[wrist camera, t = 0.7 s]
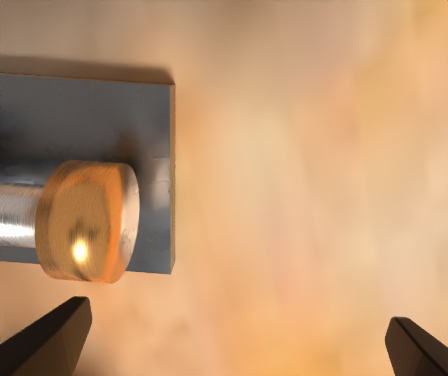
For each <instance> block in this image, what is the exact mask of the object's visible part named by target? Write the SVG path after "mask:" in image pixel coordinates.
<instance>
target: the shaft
mask: <svg viewBox="0 0 448 376" xmlns="http://www.w3.org/2000/svg"><path fill="white" fill-rule="evenodd" d="M138 222H139V190H138V183H137V179H136V176H135V173H134V171H133V169H132V168H131V166H129V165H128V164H124V163H110V162H97V161H83V160H69V161H66V162H64V163H62V164H61V165H60V166H59V167H58V168H57V169H56V170H55V171H54V172H53V173H52V175H51V176H50V178H49V179H48V181H47V183H46V185H39V184H26V183H13V182H0V245H4V246H17V247H30V248H36V253H37V257H38V260H39V263H40V265H41V267H42V269H43V270H44V272H45V273H46V274H47V275H48V276H50V277H51V278H54V279H61V280H73V281H86V282H98V283H111V284H112V283H115V282H116V281H118V280H119V279H120V278H121V276H122V275H123V273H124V272H125V270H126V268H127V266H128V264H129V261H130V258H131V256H132V252H133V249H134V245H135V241H136V236H137V230H138Z"/></svg>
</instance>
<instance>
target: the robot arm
mask: <svg viewBox="0 0 448 376" xmlns="http://www.w3.org/2000/svg"><path fill="white" fill-rule="evenodd" d="M91 324H92V313H91V307H90V301H89V298H88V297H83V296H74V297H72V298H70V299H69V300H67V301H66V302H64V303H63V304H61V305H60V306H58V307H57V308H55V309H53V310H52V311H50V312H49V313H47V314H46V315H44V316H43V317H41V318H40V319H38V320H37V321H35V322H34V323H32V324H31V325H29V326H28V327H26V328H25V329H23V330H21V331H20V332H18V333H17V334H15V335H14V336H12V337H11V338H9V339H8V340H6V341H5V342H3V343H2V344H0V376H72V375H73V372H74V370H75V367H76V364H77V362H78V359H79V356H80V354H81V351H82V348H83V346H84V343H85V341H86V338H87V335H88V333H89V330H90V327H91ZM385 345H386V348H387V352H388V355H389V358H390V361H391V364H392V367H393V370H394V374H395V376H448V347H447V346H445V345H444V344H443V343H441V342H440V341H439V340H437V339H436V338H435V337H433V336H432V335H431V334H429V333H428V332H427V331H425V330H424V329H423V328H421V327H420V326H419V325H417V324H416V323H415V322H413V321H412V320H410V319H409V318H406V317H392V318H391V320H390V323H389V326H388V329H387V333H386V336H385Z"/></svg>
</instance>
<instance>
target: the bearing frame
mask: <svg viewBox="0 0 448 376" xmlns="http://www.w3.org/2000/svg"><path fill="white" fill-rule="evenodd" d="M69 160H83V161H97V162H110V163H124V164H128V165H129V166H131V168H132V169H133V171H134V173H135V176H136V179H137V183H138V190H139V222H138V230H137V236H136V241H135V245H134V249H133V252H132V256H131V258H130V261H129V264H128V266H127V268H126V270H125V271H134V272H146V273H159V274H171V272H172V269H173V266H174V263H175V85H174V84H159V83H144V82H130V81H115V80H100V79H86V78H71V77H56V76H42V75H27V74H12V73H0V182H13V183H26V184H39V185H46V183H47V181H48V179H49V178H50V176H51V175H52V173H53V172H54V171H55V170H56V169H57V168H58V167H59V166H60V165H61V164H62V163H64V162H66V161H69ZM0 261H8V262H20V263H33V264H40V263H39V260H38V257H37V253H36V248H30V247H17V246H4V245H0Z"/></svg>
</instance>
